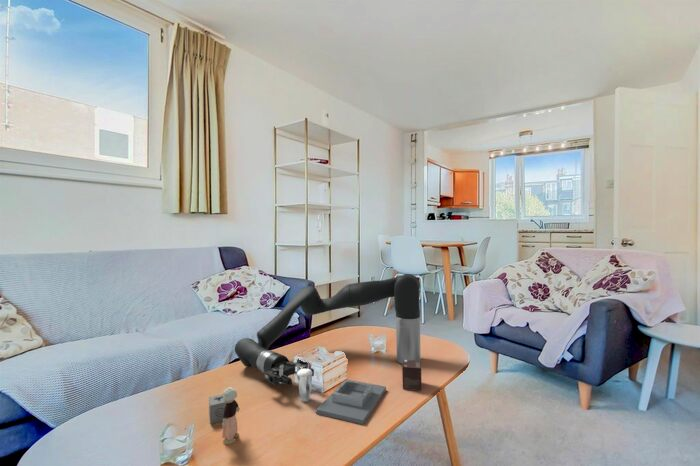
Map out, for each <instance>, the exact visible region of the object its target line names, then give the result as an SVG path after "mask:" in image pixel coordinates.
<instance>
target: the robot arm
mask: <svg viewBox="0 0 700 466" xmlns="http://www.w3.org/2000/svg"><path fill="white" fill-rule="evenodd" d="M420 289H421V281H420V279H418V277H417V276H415V275H414V274H410V273H404V274H401V275H399V276H396V277H395V276H394V277H392V278H388V279H383V280H369V281H360V282H355V283H349V284H347V285H345V286H343V287H342V288H341V289H340V290H339V291H337V293H336V294H334V295H333V296H331V297H328V298H321V296H320V294H319V292H318V290H317V288H316V287H315V286H314V285H307V286H304V287H303V288H302V289H300V290H299V291H298V292H296V294H295V295H294V296H293V297H292V298H291V299H290V300H289V301H288V302H287V304H285V306H284V307H283V308H282V309H281V310H280V312H279V313H278V314H277V315H276V316H274V318H272V319H271V320H270V321H268V323H266V324H265V325H264V326H263V327H262V328H261V329H260V330H258V331H257V332H256V338H257V342H256V340H253V339H252V338H249V337H244V338H241V339H238V341H237V342H236V344H235V346H234V352H235V354H236V356H237V357H238V359H239V360H240V362H241V363H242V365H243V366H244V367H246V368H247V367H253V368H255V369H256V370H258V371H260V372H261V373H263V374H264V379H265V381H266V382H268V383H270V384H272V385H274V386H276V385H277V384H278V383H279V384H282V385H285V386H288V387H291V386H293V379H292V378H291V377H289V376H292V375H295V376H296V375H297V372H298V371H299V370H300V369H301V368H300V367H303V369H307V368H308V363H309V361H307V362H308V363H307V362H303V361H301V360H302V359H301V360H299V359H300V358H297V359H298V360H297V359H296V362H293V361H290V360H289V358H288V357H287V356H285V355H283V354H281V353H278V352H276V351H273V350H270V346H271V345H272V344H273V343H274V342H275V341H276V340H278V339H279V338H280V337H281V336H282V335H283V334H284V333H285V332H286V330H287V329H288V326H289V324H290V322H291V320H292V318H293V316H294V314H295V313H296V311H297V310H298V309H299V308H301V311H302V312H303V314H304V315H307V316H314V315H317V314H322V313H325V312H331V311H333V310H339V309H345V308H346V309H347V308H352V307H353V308H355V307H359V306H366V305H369V304H372V303H376V302H379V301H382V300H385V299H388V298H394V311H395V330H396V331H395V338H396V339H395V341H396V344H395V345H396V347H395V348H396V354H395V355H396V356H395V357H396V362H398V363H399V364H401V365H403V360H413V361H421V310H420ZM421 362H422V361H421ZM296 367H297V368H296ZM296 369H297V371H296ZM309 369H310V370H311V371H312V377H314V376H315V369H314V368H312V367H311V363H310V364H309Z"/></svg>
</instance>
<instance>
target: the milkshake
mask: <svg viewBox="0 0 700 466" xmlns="http://www.w3.org/2000/svg"><path fill="white" fill-rule="evenodd" d="M309 364H310V365H311V362H310V363H308V368H307V369H301V368H300V370H299V371H298V372H297V385H298V395H299V401H300V402H302V403H307V402H310V401H311V400H312V396H311V395H312V381H313V376H312V371H311V370H310V369H309Z"/></svg>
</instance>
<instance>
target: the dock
mask: <svg viewBox="0 0 700 466" xmlns="http://www.w3.org/2000/svg"><path fill="white" fill-rule="evenodd" d="M386 390H387V386H385V385H379V384H373V383H367V382H362V381H356V380H352V379H344V380H343V381H342V382H341V383H340V384H339V385H338V387H336V388H335V390H333V391H332V392H331V393H330V395H329V396H328V397H327V398H326V399H325V400H323V402H322V403H320V405H319V406H318V407H317V408H316V411H315V413H316V415H320V416H325V417H328V418H334V419H337V420H342V421H346V422H349V423H350V422H351V423H353V424H357V425H358V424H359V425H363V426H364V424H365V423H366V421H367V420H368V418H369V416H370V415H371V413H372V412H373V411H374V410H375V408H376V406H377V404H378V403H379V401H380V400H381V399H382V397H383V396H384V395H385V392H386Z"/></svg>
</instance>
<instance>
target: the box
mask: <svg viewBox="0 0 700 466" xmlns="http://www.w3.org/2000/svg"><path fill="white" fill-rule="evenodd" d="M401 366H402V368H401V369H402V370H401V371H402V372H401V373H402V377H401V378H402V389H403V390H409V391H410V390H411V391H422V389H423V388H422V385H423V383H422V361H413V360H403V364H401Z"/></svg>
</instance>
